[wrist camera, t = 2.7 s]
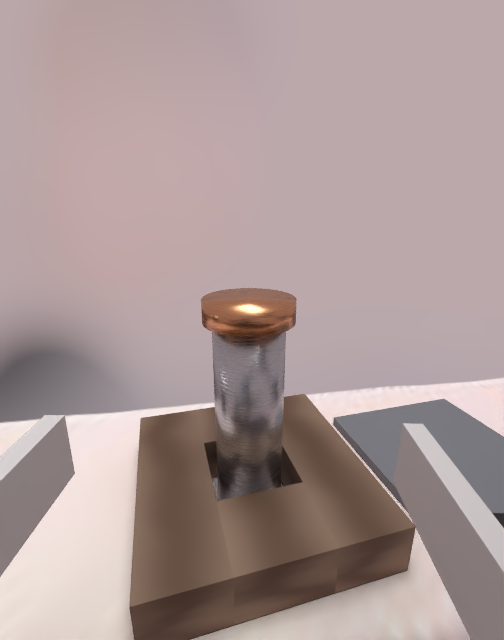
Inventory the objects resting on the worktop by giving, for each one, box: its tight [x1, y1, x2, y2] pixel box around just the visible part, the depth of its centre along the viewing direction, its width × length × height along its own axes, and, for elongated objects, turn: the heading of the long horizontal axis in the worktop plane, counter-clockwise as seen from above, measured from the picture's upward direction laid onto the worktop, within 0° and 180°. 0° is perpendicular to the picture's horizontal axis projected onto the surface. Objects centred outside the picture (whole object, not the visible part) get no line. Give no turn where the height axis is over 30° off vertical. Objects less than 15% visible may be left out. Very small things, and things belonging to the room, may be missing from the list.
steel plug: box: [201, 288, 296, 500], centre depth 24 cm, size 6×6×16 cm
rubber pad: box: [333, 399, 504, 513], centre depth 31 cm, size 14×14×1 cm
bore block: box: [130, 394, 415, 640], centre depth 26 cm, size 16×16×4 cm
